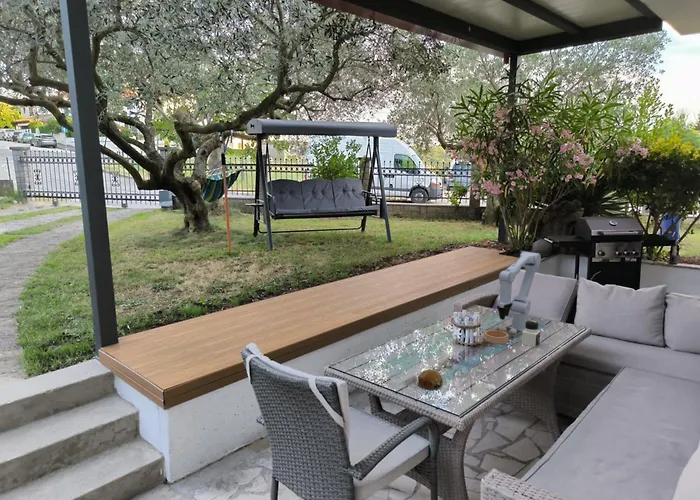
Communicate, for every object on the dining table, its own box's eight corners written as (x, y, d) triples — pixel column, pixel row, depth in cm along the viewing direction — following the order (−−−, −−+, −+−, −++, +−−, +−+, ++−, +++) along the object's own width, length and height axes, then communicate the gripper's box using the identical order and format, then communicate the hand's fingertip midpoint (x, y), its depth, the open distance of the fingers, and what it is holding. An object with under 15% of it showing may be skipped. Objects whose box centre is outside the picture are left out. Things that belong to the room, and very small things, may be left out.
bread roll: (440, 389, 201) (439, 369, 203) (445, 389, 191) (444, 368, 193) (417, 389, 201) (416, 369, 203) (421, 389, 191) (420, 369, 193)
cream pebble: (501, 331, 263) (501, 324, 262) (507, 332, 260) (508, 325, 259) (497, 332, 260) (497, 325, 260) (504, 334, 257) (504, 327, 257)
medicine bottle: (535, 347, 239) (537, 324, 237) (521, 344, 243) (522, 322, 242) (539, 343, 245) (541, 321, 243) (525, 340, 249) (527, 318, 247)
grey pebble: (511, 333, 259) (511, 326, 258) (518, 335, 256) (518, 328, 255) (507, 335, 256) (508, 328, 255) (514, 337, 253) (514, 330, 252)
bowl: (491, 335, 258) (491, 328, 257) (511, 340, 249) (512, 333, 249) (480, 340, 250) (480, 333, 249) (500, 345, 241) (500, 339, 241)
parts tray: (503, 329, 267) (503, 325, 266) (523, 334, 258) (523, 331, 258) (491, 334, 258) (492, 330, 258) (512, 340, 250) (512, 336, 249)
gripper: (501, 289, 263) (500, 313, 265) (494, 294, 250) (492, 319, 253) (514, 291, 259) (513, 315, 261) (508, 296, 247) (506, 321, 249)
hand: (504, 317), depth 256 cm, fingers open, 7 cm apart
